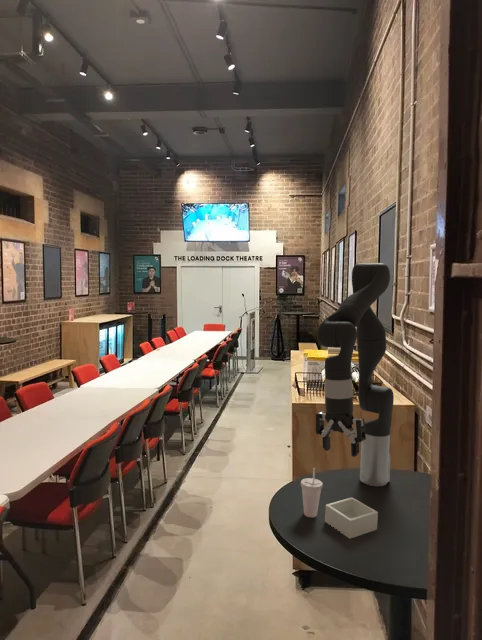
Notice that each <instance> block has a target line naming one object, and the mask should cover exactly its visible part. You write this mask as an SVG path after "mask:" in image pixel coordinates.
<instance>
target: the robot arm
mask: <svg viewBox="0 0 482 640" xmlns="http://www.w3.org/2000/svg"><path fill="white" fill-rule="evenodd" d="M390 272H391V271H390V268H389V266H388V265H387V264H385V263H384V262H383V263H380V262H372V263H371V262H367V263H366V262H362V263H361V262H360V263H359V262H358V263H356V264H355V265H354V266H353V268H352V272H351V285H352V294H350V295H347V297H346V298H345V299H344V300H343V301H342V302H341V304H340V305H339V307H338V308H337V310H336V311H335V312H333V313H332V314H330V315H329V316H327V317H326V318H325V319H323V321H322V322H321V323H320V325H319V326H318V327H317V331H316V340H317V343H318V344H319V345H321V346H322V347H325V348H336V349H337V348H339V353H338V354H336V355H330V356H327V357H326V358H325V359H324V407H325V408H324V409H325V412H324V411H320V412H317V413H316V414H315V433H316V435H320V436H321V438H322V448H323V450H324V451H326V452H328V451H329V450H331V435H330V434H331V433H332V432H339V433H341V434H342V433H343V434H344V435H346V437H347V438H348V439H349V440H350V442H351V443H350V448H351V449H350V450H351V457H353V458H355V457H357V456H358V455H359V454H360V467H359V481H360V482H361V483H362V484H365V485H367V486H371V487H384V486H386V485H388V482H390V480H391V477H390V476H391V463H392V462H391V460H392V455H391V454H390V439H391V437H390V436H391V427H392V423H393V408H394V401H395V400H394V397H395V396H394V391H393V389H392V388H390V387H388V386H383V385H382V386H381V385H375V384H373V381H372V379H373V374H374V371H375V369H376V368H377V366H378V365H379V364H380V362H381V360H382V359H383V357H384V356H385V354H386V351H387V334H386V332H387V331H386V328H385V326H384V325H383V323H382V321H381V320H380V318H379V317H378V316H377V313H375V312H374V309H372V307H371V306H372V305H373V304H374V303H375V302H376V301H377V300H378V298H380V297H381V296H382V295H383V294H384V293H385V292H386V290H387V289H388V287H389V284H390V281H391V274H390ZM355 346H357V358H358V389H357V390H358V398H357V399H358V404H359V405H358V406H359V408H360V409H361V410H362V411H364V412H370V413H373V414H374V413H375V414H378V417H377V418H376V419H370V420H366V421H365V419H364V418H363V417H361V418H354V414H353V413H354V393H353V392H354V391H353V390H354V389H353V388H354V387H353V380H352V360H353V359H352V358H353V355H354V354H353V353H354V349H355ZM325 421H326V422H327V424H326V426H325ZM353 425H354V426H353ZM360 443H361V446H360ZM360 448H361V449H360Z"/></svg>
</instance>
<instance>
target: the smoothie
mask: <svg viewBox="0 0 482 640" xmlns="http://www.w3.org/2000/svg"><path fill="white" fill-rule="evenodd" d="M315 477H316V467H312V477H308V478H307V477H306V478H303V479H301V481H300V487H301V494H302V504H303V505H302V506H303V514H304V516H305V517H307V518H316V517H317V516H318V511H319V510H318V509H319V503H320V498H321V493H322V488H323V487H324V486H323V482H322V481H321V480H319V479H317V478H315Z"/></svg>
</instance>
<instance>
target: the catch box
mask: <svg viewBox="0 0 482 640" xmlns="http://www.w3.org/2000/svg"><path fill="white" fill-rule="evenodd" d="M324 509H325V513H324V514H325V516H324V522H325V523H326V524H327V525H329V526H330V525H331V527H332V528H333V527H334V528H333V529H334V530H336V529H337V530H336V531H338V532H339V531H340V532H339V533H340V534H342V535H343V536H345V537H346V538H348V539H354V538H356V537H359V536H362V535H364V534H368V533H371V532H374V531H377V530H378V520H379V519H378V518H379V517H378V516H379V514H378V513H379V512H378V511H377V510H375V509H373V508H372V507H370V506H368V505H366V504H365V503H364V502H361V501H359V500H358V499H356V498H354V497H347V498H344V499H341V500H338V501H334V502H331V503H327V504H325V508H324Z"/></svg>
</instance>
